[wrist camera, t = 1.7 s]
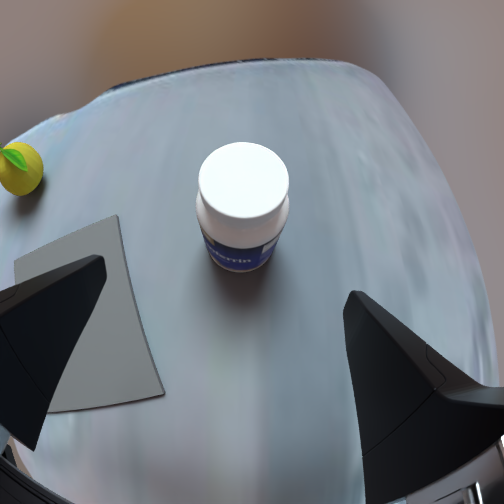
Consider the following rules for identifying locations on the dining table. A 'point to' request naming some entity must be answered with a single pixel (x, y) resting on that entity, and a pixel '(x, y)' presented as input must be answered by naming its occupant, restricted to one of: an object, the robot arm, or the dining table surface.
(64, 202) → the dining table surface
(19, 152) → the lemon
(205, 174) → the pill bottle
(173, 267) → the dining table surface
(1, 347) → the robot arm
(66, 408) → the mat
